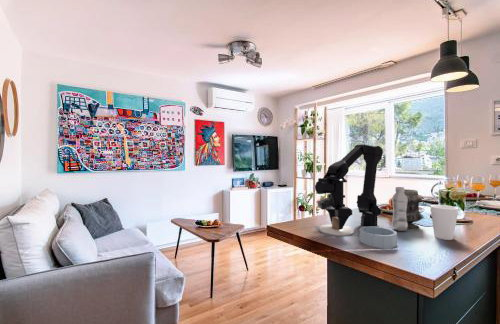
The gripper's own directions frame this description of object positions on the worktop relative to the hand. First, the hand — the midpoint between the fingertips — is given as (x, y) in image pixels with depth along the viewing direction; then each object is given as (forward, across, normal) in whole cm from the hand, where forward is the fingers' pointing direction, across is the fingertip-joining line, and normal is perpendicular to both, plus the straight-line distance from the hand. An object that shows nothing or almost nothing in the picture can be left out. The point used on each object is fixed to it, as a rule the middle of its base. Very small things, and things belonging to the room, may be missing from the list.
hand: (336, 226), depth 116 cm
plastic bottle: (+3, 0, +30) cm, 30 cm away
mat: (+2, 0, 0) cm, 2 cm away
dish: (+2, +16, +10) cm, 19 cm away
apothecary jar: (+3, -6, +38) cm, 39 cm away
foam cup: (+3, +11, +42) cm, 44 cm away
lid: (+2, 0, 0) cm, 2 cm away
